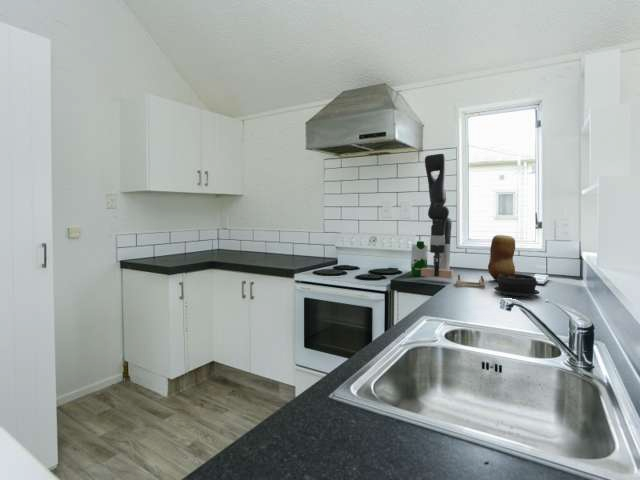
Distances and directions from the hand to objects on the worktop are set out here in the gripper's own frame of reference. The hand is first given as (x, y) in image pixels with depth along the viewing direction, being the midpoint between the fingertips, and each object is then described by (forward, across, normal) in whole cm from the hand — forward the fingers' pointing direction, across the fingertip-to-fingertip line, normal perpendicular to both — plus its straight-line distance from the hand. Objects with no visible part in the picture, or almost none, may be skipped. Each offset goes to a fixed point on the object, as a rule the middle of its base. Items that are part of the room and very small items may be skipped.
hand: (436, 275), depth 213 cm
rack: (+3, +8, +17) cm, 18 cm away
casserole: (+3, +23, +36) cm, 42 cm away
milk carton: (+3, -14, -10) cm, 17 cm away
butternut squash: (+4, -11, +33) cm, 35 cm away
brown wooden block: (+1, 0, 0) cm, 1 cm away
